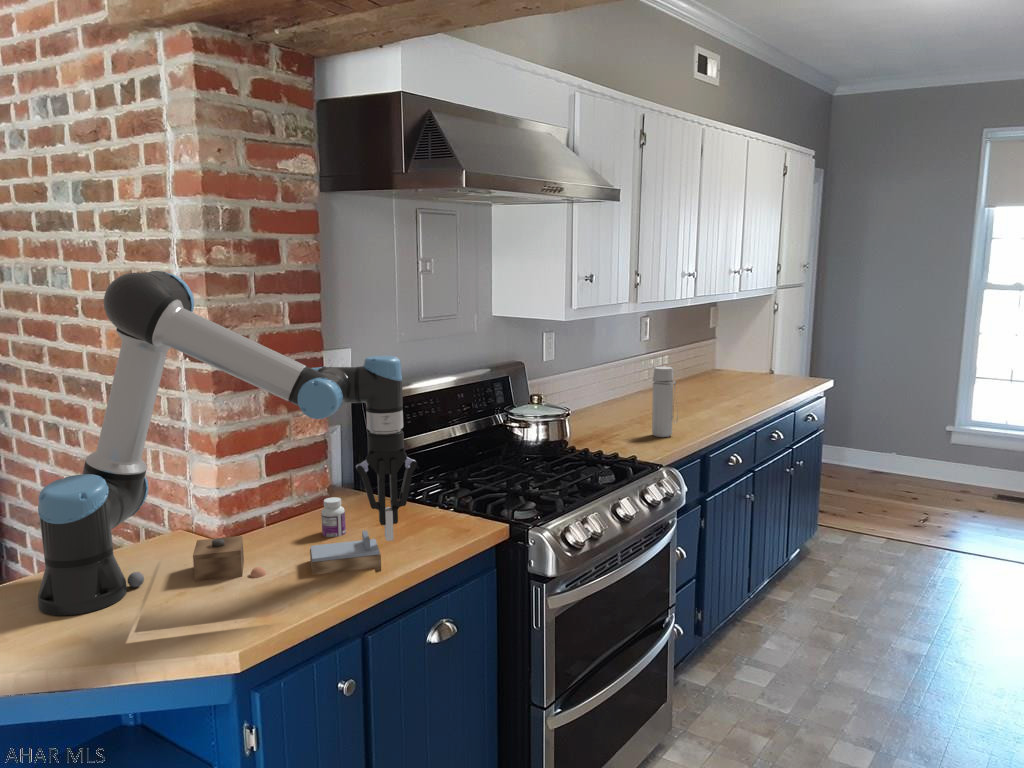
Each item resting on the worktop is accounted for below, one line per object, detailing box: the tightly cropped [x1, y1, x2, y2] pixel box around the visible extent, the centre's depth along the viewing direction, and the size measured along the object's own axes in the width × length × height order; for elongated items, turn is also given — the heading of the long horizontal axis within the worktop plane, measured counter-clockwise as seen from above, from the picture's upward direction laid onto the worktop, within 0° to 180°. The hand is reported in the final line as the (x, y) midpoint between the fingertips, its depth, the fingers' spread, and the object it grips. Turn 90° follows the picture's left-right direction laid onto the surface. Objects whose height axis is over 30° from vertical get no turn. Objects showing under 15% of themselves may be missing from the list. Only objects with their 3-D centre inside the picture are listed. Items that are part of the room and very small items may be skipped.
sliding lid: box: [310, 530, 381, 562], centre depth 166 cm, size 14×8×3 cm, turn 106°
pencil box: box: [309, 548, 382, 576], centre depth 166 cm, size 14×8×4 cm, turn 106°
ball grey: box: [127, 571, 145, 588], centre depth 159 cm, size 3×3×3 cm
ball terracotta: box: [250, 566, 267, 578], centre depth 161 cm, size 3×3×3 cm
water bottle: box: [651, 366, 679, 438], centre depth 287 cm, size 9×8×25 cm
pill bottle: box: [320, 496, 347, 538], centre depth 185 cm, size 5×5×10 cm
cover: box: [192, 535, 245, 583], centre depth 163 cm, size 9×9×8 cm
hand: (389, 538), depth 168 cm, fingers closed
